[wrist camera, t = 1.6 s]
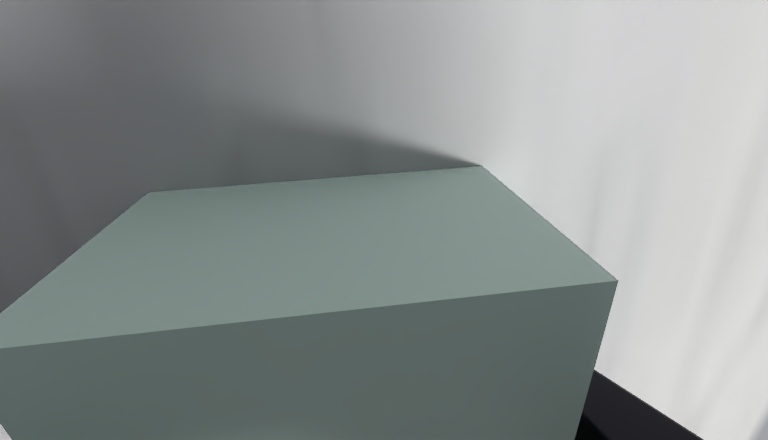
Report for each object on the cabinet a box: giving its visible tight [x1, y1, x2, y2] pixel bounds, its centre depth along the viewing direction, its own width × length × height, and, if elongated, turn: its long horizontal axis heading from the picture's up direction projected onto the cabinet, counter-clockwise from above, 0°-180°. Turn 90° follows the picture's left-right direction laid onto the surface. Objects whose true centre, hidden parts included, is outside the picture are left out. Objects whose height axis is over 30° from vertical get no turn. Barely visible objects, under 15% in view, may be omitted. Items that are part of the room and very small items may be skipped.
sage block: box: [0, 166, 618, 440], centre depth 7 cm, size 7×6×4 cm
